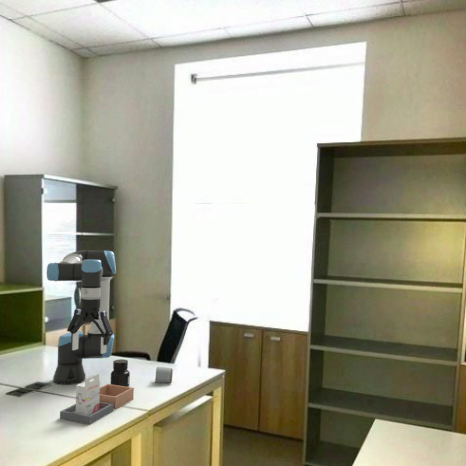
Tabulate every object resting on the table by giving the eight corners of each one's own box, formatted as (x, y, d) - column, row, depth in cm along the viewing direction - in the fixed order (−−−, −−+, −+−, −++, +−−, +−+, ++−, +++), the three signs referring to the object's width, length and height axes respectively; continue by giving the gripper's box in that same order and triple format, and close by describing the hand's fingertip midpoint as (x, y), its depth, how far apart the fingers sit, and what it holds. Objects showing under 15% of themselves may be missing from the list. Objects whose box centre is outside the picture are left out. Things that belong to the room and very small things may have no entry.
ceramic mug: (171, 384, 220) (172, 368, 220) (155, 384, 219) (155, 368, 219) (172, 378, 230) (173, 363, 231) (156, 378, 230) (157, 363, 230)
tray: (59, 419, 174) (60, 411, 174) (84, 406, 188) (85, 399, 188) (89, 424, 169) (90, 416, 169) (113, 411, 183) (113, 403, 184)
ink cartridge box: (90, 408, 184) (91, 371, 184) (99, 410, 182) (100, 373, 182) (74, 415, 176) (75, 377, 177) (84, 417, 174) (85, 379, 175)
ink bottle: (133, 386, 216) (134, 361, 216) (117, 390, 209) (118, 364, 209) (122, 382, 222) (122, 357, 223) (106, 385, 216) (107, 360, 216)
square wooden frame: (87, 405, 190) (88, 393, 190) (107, 395, 202) (107, 383, 203) (115, 409, 185) (115, 397, 185) (133, 399, 198) (133, 387, 198)
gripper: (58, 297, 181) (57, 350, 180) (111, 301, 172) (110, 356, 172) (71, 295, 188) (70, 346, 187) (122, 299, 179) (121, 352, 179)
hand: (89, 351), depth 180 cm, fingers open, 13 cm apart
